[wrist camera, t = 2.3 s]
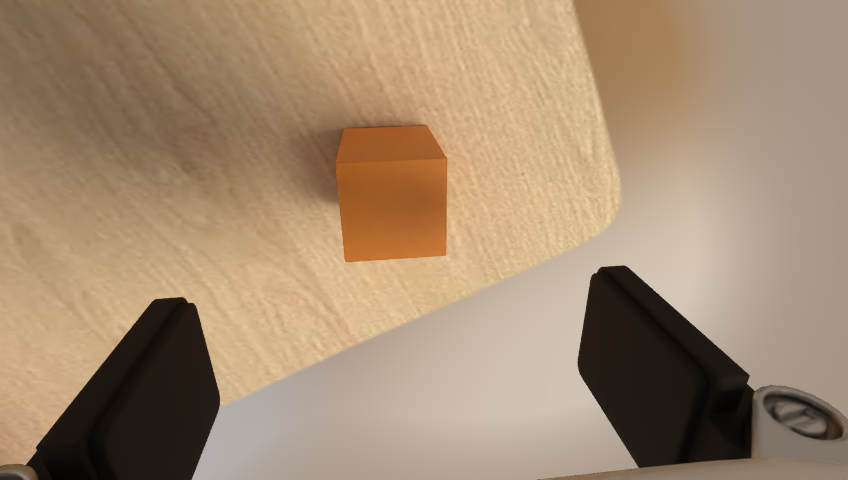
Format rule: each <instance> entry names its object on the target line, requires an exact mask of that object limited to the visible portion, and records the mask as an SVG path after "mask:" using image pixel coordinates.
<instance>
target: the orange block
mask: <svg viewBox="0 0 848 480" xmlns="http://www.w3.org/2000/svg"><path fill="white" fill-rule="evenodd" d="M335 166H336V176H337V186H338V196H339V205H340V215H341V225H342V235H343V245H344V255H345V261H346V262H355V261H371V260H386V259H401V258H417V257H432V256H445V255H446V210H447V158H446V156H445V155H444V153H443V151H442V150H441V148H440V146H439V145H438V143H437V141H436V140H435V138H434V136H433V135H432V133H431V131H430V130H429V128H428V126H426V125H425V126H398V127H371V128H344V129H343V133H342V137H341V142H340V146H339V150H338V155H337V159H336V163H335Z"/></svg>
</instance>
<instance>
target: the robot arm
mask: <svg viewBox="0 0 848 480" xmlns="http://www.w3.org/2000/svg"><path fill="white" fill-rule="evenodd" d="M578 369H579V373H580V375H581V377H582V378H583V380H584V382H585V383H586V385H587V386H588V388H589V389H590V391H591V392H592V394H593V396H594V397H595V399H596V401H597V402H598V404H599V405H600V407H601V408H602V410H603V412H604V413H605V415H606V416H607V418H608V420H609V421H610V423H611V424H612V426H613V427H614V429H615V431H616V432H617V434H618V435H619V437H620V438H621V440H622V442H623V443H624V445H625V446H626V448H627V450H628V451H629V453H630V454H631V456H632V458H633V459H634V461H635V462H636V464H637V466H638V467H639V468H636V469H627V470H618V471H609V472H601V473H592V474H583V475H574V476H566V477H556V478H548V479H539V480H848V419H847V418H846V417H845V416H844V415H843V414H842V413H841V412H840V411H838V410H837V409H836V408H834V407H833V406H832V405H830V404H829V403H827V402H825V401H823V400H822V399H820V398H818V397H816V396H814V395H812V394H809V393H806V392H804V391H801V390H798V389H794V388H790V387H786V386H774V385H770V386H765V387H761V388H759V389H758V390H756V391H754V390H753V389H752V388H751V387H750V386H749V385H747V382H748V379H749V376H750V375H749V374H748V373H746V372H745V371H744V370H743V369H742V368H741V367H740V366H739V365H737V364H736V363H735V362H734V361H733V360H732V359H731V358H730V357H728V356H727V355H726V354H725V353H724V352H723V351H722V350H721V349H719V348H718V347H717V346H716V345H715V344H714V343H712V342H711V341H710V340H709V339H708V338H707V337H706V336H705V335H703V334H702V333H701V332H700V331H699V330H698V329H697V328H696V327H695V326H693V325H692V324H691V323H690V322H689V321H688V320H687V319H686V318H684V317H683V316H682V315H681V314H680V313H679V312H678V311H676V310H675V309H674V308H673V307H672V306H671V305H670V304H669V303H667V302H666V301H665V300H664V299H663V298H662V297H661V296H659V294H657V293H656V292H655V291H654V290H653V289H652V288H651V287H649V286H648V285H647V284H646V283H645V282H644V281H643V280H642V279H640V278H639V277H638V276H637V275H636V274H635V273H634V272H633V271H631V270H630V269H629V268H628V267H626V266H609V267H601V268H600V269H599V270H598V272H597V273H594V274H593V275H592V277H591V280H590V287H589V293H588V299H587V305H586V312H585V318H584V324H583V330H582V337H581V343H580V349H579V356H578ZM219 406H220V395H219V390H218V387H217V383H216V379H215V375H214V372H213V368H212V364H211V360H210V357H209V353H208V349H207V345H206V342H205V338H204V334H203V330H202V327H201V323H200V319H199V315H198V312H197V308H196V306H195V304H194V303H188V302H187V300H186V299H185V298H183V297H178V298H164V299H155V300H154V301H152V303H151V304H150V305H149V306H148V308H147V309H146V310H145V311H144V313H143V314H142V315H141V316H140V318H139V319H138V320H137V321H136V323H135V324H134V325H133V326H132V328H131V329H130V330H129V331H128V333H127V334H126V335H125V336H124V338H123V339H122V340H121V341H120V343H119V344H118V345H117V346H116V348H115V349H114V350H113V351H112V353H111V354H110V355H109V356H108V358H107V359H106V360H105V361H104V363H103V364H102V365H101V366H100V368H99V369H98V370H97V371H96V373H95V374H94V375H93V376H92V378H91V379H90V380H89V381H88V383H87V384H86V385H85V386H84V388H83V389H82V390H81V391H80V393H79V394H78V395H77V396H76V398H75V399H74V400H73V401H72V403H71V404H70V405H69V406H68V408H67V409H66V410H65V411H64V413H63V414H62V415H61V416H60V418H59V419H58V420H57V421H56V423H55V424H54V425H53V426H52V428H51V429H50V430H49V431H48V433H47V434H46V435H45V436H44V438H43V439H42V440H41V441H40V443H39V444H38V445H37V446H36V449H37V452H36V453H35V454H34V455H33V457H32V458H31V459H30V460H29V462H28V463H27V464H26V465H23V464H9V465H3V466H0V480H192V477H193V475H194V472H195V470H196V467H197V464H198V462H199V459H200V457H201V454H202V451H203V448H204V446H205V444H206V441H207V439H208V436H209V434H210V431H211V428H212V426H213V423H214V421H215V418H216V415H217V413H218V410H219Z"/></svg>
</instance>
